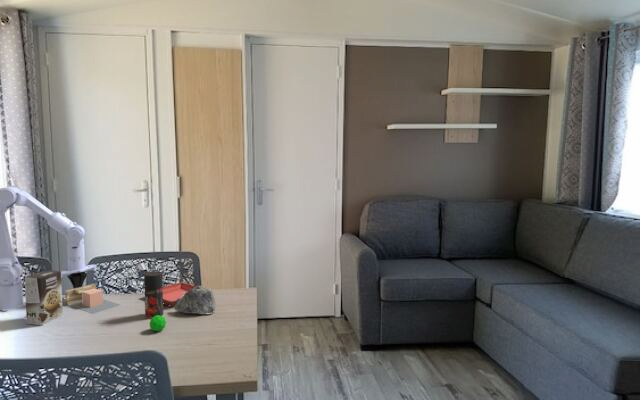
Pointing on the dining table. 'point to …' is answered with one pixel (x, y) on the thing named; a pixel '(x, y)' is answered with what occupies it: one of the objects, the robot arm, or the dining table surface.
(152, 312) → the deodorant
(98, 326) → the dining table surface
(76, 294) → the wooden stand
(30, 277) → the brown food box
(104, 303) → the slate mat
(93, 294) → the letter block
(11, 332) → the dining table surface
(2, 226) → the robot arm
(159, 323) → the polyhedron
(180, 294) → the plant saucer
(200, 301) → the mineral rock
